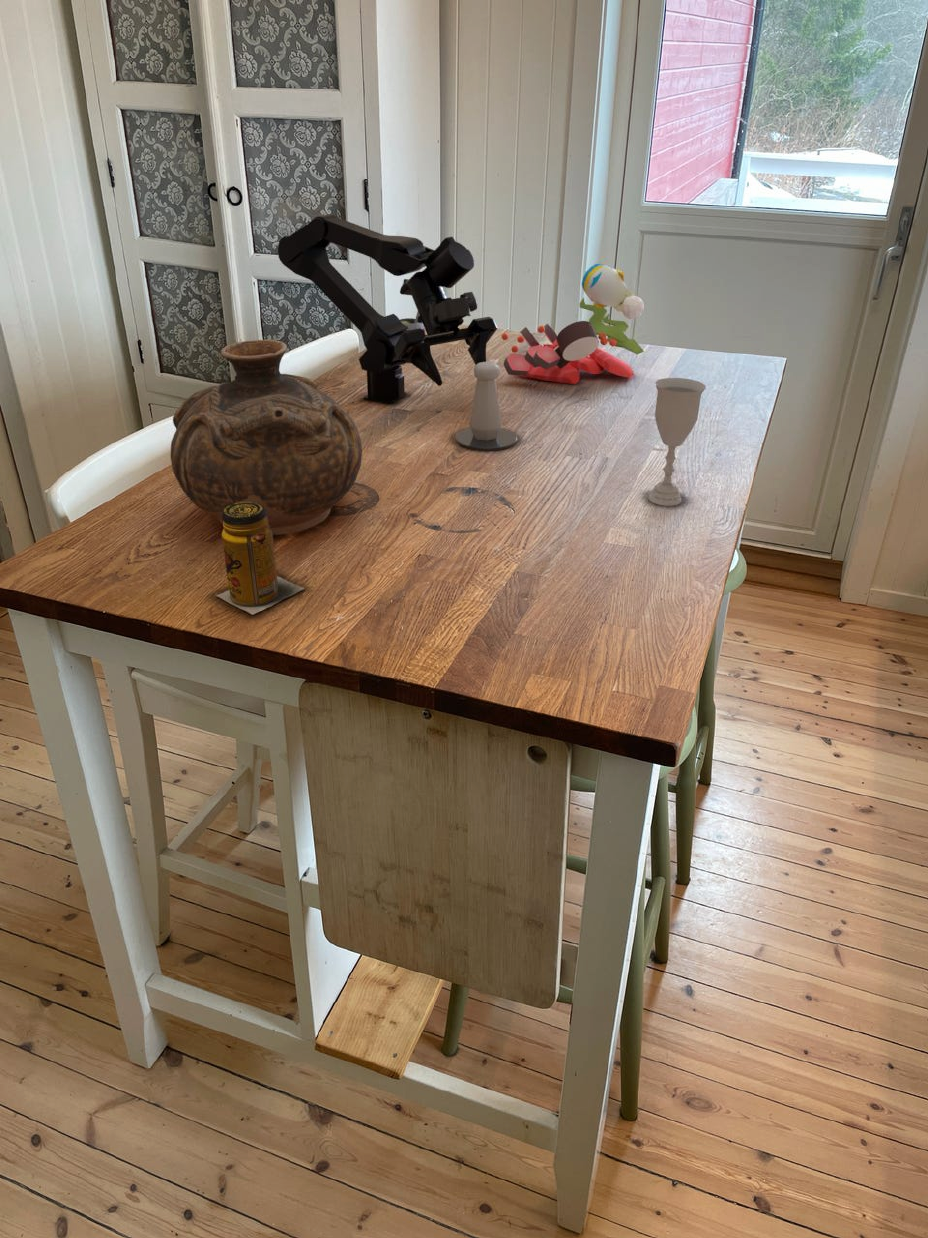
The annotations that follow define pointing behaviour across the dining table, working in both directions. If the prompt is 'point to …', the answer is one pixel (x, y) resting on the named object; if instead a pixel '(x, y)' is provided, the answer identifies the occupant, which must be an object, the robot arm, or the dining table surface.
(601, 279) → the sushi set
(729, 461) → the dining table surface
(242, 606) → the condiment
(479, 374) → the salt shaker
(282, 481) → the vessel
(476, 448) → the coaster
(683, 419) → the chalice
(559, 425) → the dining table surface
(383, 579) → the dining table surface
